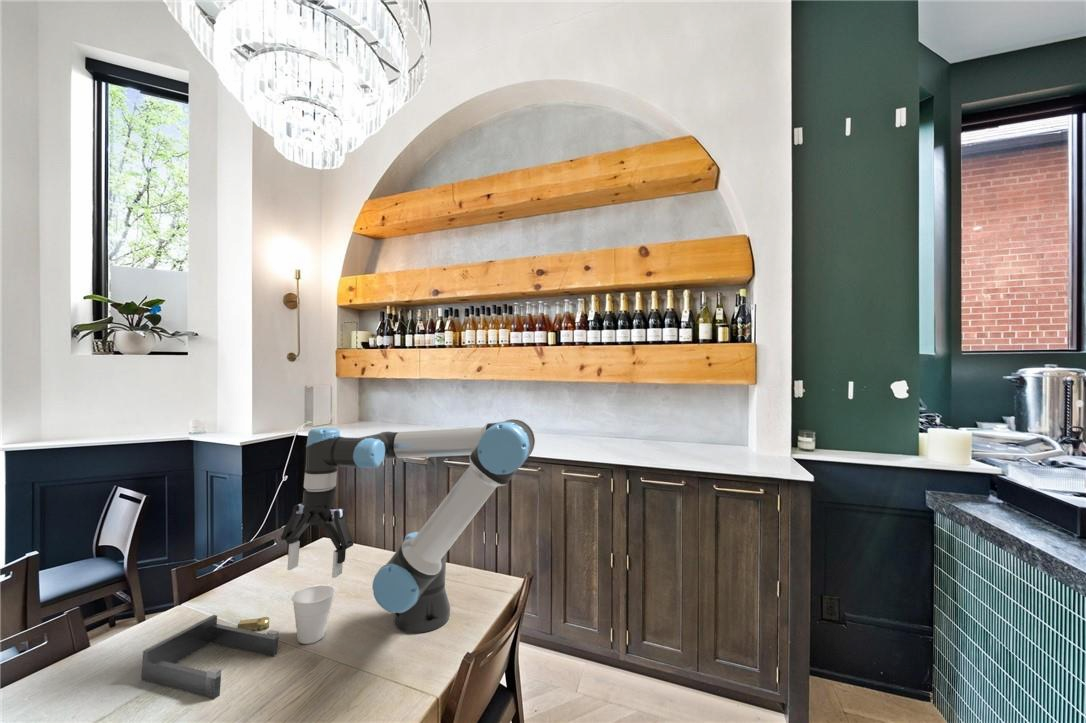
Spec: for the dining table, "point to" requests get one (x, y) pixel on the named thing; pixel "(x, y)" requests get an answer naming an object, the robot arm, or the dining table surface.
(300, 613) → the cup
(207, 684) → the grey u-shaped bracket
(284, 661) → the dining table surface
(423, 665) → the dining table surface
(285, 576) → the dining table surface
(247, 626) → the brass key block
